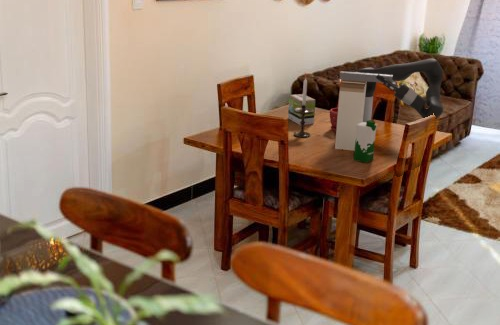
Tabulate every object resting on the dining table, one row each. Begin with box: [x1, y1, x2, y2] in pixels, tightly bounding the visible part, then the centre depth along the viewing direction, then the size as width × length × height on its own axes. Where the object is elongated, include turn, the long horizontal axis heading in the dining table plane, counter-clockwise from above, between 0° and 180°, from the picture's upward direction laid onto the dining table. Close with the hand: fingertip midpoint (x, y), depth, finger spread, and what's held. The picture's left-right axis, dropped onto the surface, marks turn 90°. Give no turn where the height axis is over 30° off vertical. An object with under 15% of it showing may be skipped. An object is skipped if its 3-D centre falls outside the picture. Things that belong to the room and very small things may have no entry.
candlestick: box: [293, 72, 314, 139], centre depth 366 cm, size 11×11×35 cm
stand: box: [334, 80, 367, 151], centre depth 355 cm, size 12×24×34 cm, turn 168°
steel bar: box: [339, 70, 393, 84], centre depth 342 cm, size 26×4×4 cm, turn 78°
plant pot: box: [329, 107, 338, 132], centre depth 383 cm, size 13×13×12 cm
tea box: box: [287, 93, 316, 126], centre depth 398 cm, size 15×10×15 cm
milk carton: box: [353, 119, 378, 164], centre depth 332 cm, size 9×9×20 cm
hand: (377, 75), depth 340 cm, fingers closed on steel bar, 3 cm apart
